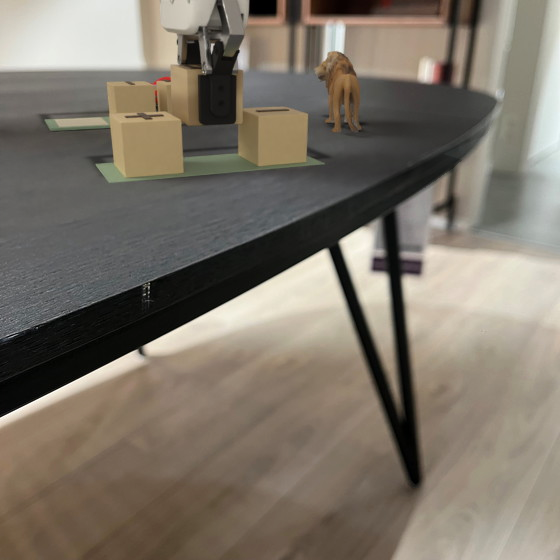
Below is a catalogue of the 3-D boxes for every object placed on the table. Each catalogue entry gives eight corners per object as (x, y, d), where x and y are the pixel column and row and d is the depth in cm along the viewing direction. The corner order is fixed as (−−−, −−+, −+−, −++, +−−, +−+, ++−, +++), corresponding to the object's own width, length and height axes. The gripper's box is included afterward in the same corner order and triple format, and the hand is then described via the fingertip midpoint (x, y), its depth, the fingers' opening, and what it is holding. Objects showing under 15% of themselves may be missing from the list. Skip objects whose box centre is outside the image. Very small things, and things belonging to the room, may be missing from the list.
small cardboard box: (188, 126, 48) (186, 68, 46) (171, 116, 52) (169, 63, 50) (242, 124, 50) (243, 68, 48) (223, 115, 54) (223, 63, 52)
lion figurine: (309, 118, 81) (312, 49, 77) (346, 118, 82) (350, 50, 78) (336, 137, 68) (341, 56, 64) (379, 137, 69) (386, 57, 65)
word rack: (50, 131, 67) (44, 87, 65) (44, 121, 73) (39, 81, 71) (225, 122, 76) (224, 83, 74) (208, 114, 82) (207, 78, 80)
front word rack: (109, 186, 46) (103, 124, 44) (95, 167, 52) (89, 111, 50) (325, 166, 54) (328, 113, 52) (292, 152, 60) (293, 103, 58)
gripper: (130, -114, 49) (142, 105, 57) (189, -159, 35) (195, 139, 43) (213, -103, 52) (214, 104, 60) (297, -141, 38) (285, 134, 46)
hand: (206, 116), depth 51 cm, fingers closed on small cardboard box, 5 cm apart
